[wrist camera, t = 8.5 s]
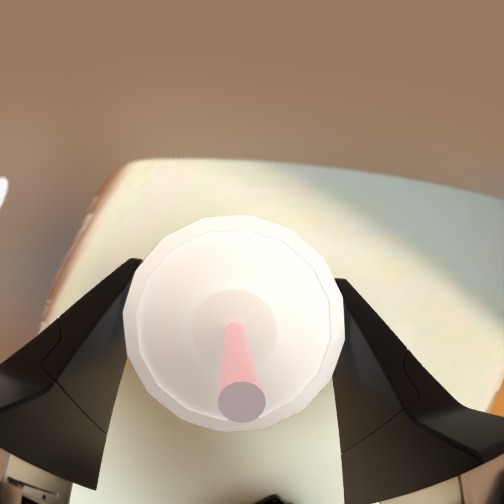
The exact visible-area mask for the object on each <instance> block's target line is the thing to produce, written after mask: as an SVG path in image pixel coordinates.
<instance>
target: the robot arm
mask: <svg viewBox="0 0 504 504" xmlns="http://www.w3.org/2000/svg"><path fill="white" fill-rule="evenodd" d="M142 262H143V260H142V259H137V258H130V259H129V260H127V261H126V262H125V263H124V264H122V265H121V266H120V267H118V268H117V269H116V270H115V271H113V272H112V273H111V274H110V275H108V276H107V277H106V278H105V279H104V280H102V281H101V282H100V283H99V284H97V285H96V286H95V287H94V288H93V289H91V290H90V291H89V292H88V293H87V294H85V295H84V296H83V297H82V298H81V299H79V300H78V301H77V302H76V303H75V304H74V305H72V306H71V307H70V308H69V309H68V310H67V311H65V312H64V313H63V314H62V315H61V316H60V317H59V318H57V319H56V320H55V321H54V322H53V323H52V324H51V325H49V326H48V327H47V328H46V329H45V330H43V331H42V332H41V333H40V334H39V335H37V336H36V337H35V338H34V339H32V340H31V341H30V342H29V343H27V344H26V345H25V346H24V347H22V348H21V349H19V350H18V351H17V352H16V353H14V354H13V355H12V356H10V357H9V358H8V359H7V360H5V361H4V362H2V363H1V364H0V504H69V503H70V497H71V491H72V485H73V483H75V484H78V485H81V486H83V487H86V488H89V489H92V490H95V491H96V488H97V483H98V477H99V472H100V466H101V461H102V456H103V451H104V447H105V442H106V437H107V436H106V435H107V432H108V428H109V424H110V420H111V415H112V411H113V407H114V403H115V399H116V396H117V392H118V388H119V384H120V381H121V377H122V373H123V370H124V366H125V363H126V360H127V350H126V341H125V332H124V322H123V309H124V306H125V303H126V299H127V296H128V293H129V289H130V286H131V283H132V280H133V277H134V274H135V271H136V270H137V268H138V267H139V266H140V265H141V264H142ZM334 280H335V282H336V284H337V286H338V288H339V290H340V292H341V295H342V297H343V309H344V329H345V341H344V344H343V347H342V350H341V352H340V355H339V358H338V361H337V364H336V366H335V369H334V372H333V375H332V379H333V386H334V394H335V402H336V410H337V419H338V428H339V437H340V448H341V453H342V454H341V460H342V472H343V486H344V501H345V504H372V503H377V502H380V504H504V417H502V416H497V415H493V414H489V413H485V412H481V411H477V410H473V409H470V408H467V407H465V406H463V405H462V404H460V403H459V402H458V401H457V400H455V399H454V398H453V397H452V396H451V395H450V394H449V393H448V391H447V390H446V389H445V388H444V387H443V386H442V385H441V384H440V383H439V382H438V381H437V380H436V379H435V378H434V377H433V376H432V375H431V374H430V373H429V372H428V371H427V370H426V369H425V368H424V367H423V366H422V365H421V363H420V362H419V361H418V360H417V359H416V358H415V357H414V355H413V354H412V353H411V352H410V351H409V350H407V347H406V346H405V345H404V344H403V343H402V341H401V340H400V339H399V338H398V337H397V336H396V335H395V333H394V332H393V331H392V330H391V329H390V328H389V327H388V325H387V324H386V323H385V322H384V321H383V320H382V319H381V317H380V316H379V315H378V314H377V313H376V312H375V311H374V310H373V309H372V307H371V306H370V305H369V304H368V303H367V302H366V301H365V300H364V299H363V297H362V296H361V295H360V294H359V293H358V292H357V291H356V290H355V289H354V288H353V287H352V285H351V284H350V283H349V282H348V281H347V280H346V279H340V278H334ZM273 500H276V501H273ZM256 504H287V503H286V502H284V501H283V500H282V499H281V498H280V497H279V496H276V495H273V496H270V497H268V498H266V499H264V500H262V501H260V502H258V503H256Z"/></svg>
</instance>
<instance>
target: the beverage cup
mask: <svg viewBox="0 0 504 504" xmlns="http://www.w3.org/2000/svg"><path fill="white" fill-rule="evenodd" d="M123 322H124V332H125V341H126V350H127V356H128V358H129V360H130V362H131V363H132V365H133V367H134V369H135V371H136V373H137V374H138V376H139V378H140V380H141V382H142V383H143V385H144V387H145V389H146V390H147V392H148V393H149V394H150V395H151V396H152V397H154V398H155V399H156V400H157V401H158V402H160V403H161V404H162V405H163V406H165V407H166V408H167V409H168V410H170V411H171V412H172V413H173V414H175V415H176V416H177V417H179V418H180V419H181V420H184V421H187V422H190V423H193V424H196V425H199V426H203V427H206V428H209V429H213V430H216V431H220V432H234V431H247V430H258V429H265V428H268V427H270V426H272V425H274V424H276V423H278V422H280V421H282V420H284V419H286V418H288V417H290V416H292V415H294V414H296V413H298V412H300V411H302V410H303V409H304V408H305V407H306V406H307V405H308V404H309V403H310V402H311V401H312V400H313V399H314V397H315V396H316V395H317V394H318V393H319V392H320V391H321V390H322V389H323V387H324V386H325V385H326V384H327V383H328V382H329V381H330V379H331V377H332V375H333V372H334V369H335V366H336V364H337V361H338V358H339V355H340V352H341V350H342V347H343V344H344V341H345V329H344V309H343V297H342V295H341V292H340V290H339V288H338V286H337V284H336V282H335V280H334V278H333V276H332V274H331V272H330V270H329V268H328V265H327V263H326V261H325V259H324V258H323V257H322V256H321V255H320V254H319V253H317V252H316V251H315V250H314V249H313V248H312V247H311V246H310V245H308V244H307V243H306V242H305V241H304V240H303V239H302V238H300V237H299V236H298V235H297V234H296V233H295V232H294V231H292V230H291V229H289V228H286V227H283V226H280V225H277V224H274V223H272V222H269V221H266V220H263V219H260V218H257V217H254V216H251V215H237V216H221V217H206V218H202V219H200V220H198V221H196V222H194V223H192V224H190V225H188V226H186V227H184V228H182V229H180V230H178V231H176V232H174V233H172V234H170V235H168V236H166V237H164V238H163V239H162V240H161V241H160V243H159V244H158V245H157V246H156V247H155V248H154V250H153V251H152V252H151V253H150V254H149V255H148V257H147V258H146V259H145V260H144V261H143V262H142V264H141V265H140V266H139V267H138V268H137V270H136V271H135V274H134V277H133V280H132V283H131V286H130V289H129V293H128V296H127V299H126V303H125V306H124V309H123Z"/></svg>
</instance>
